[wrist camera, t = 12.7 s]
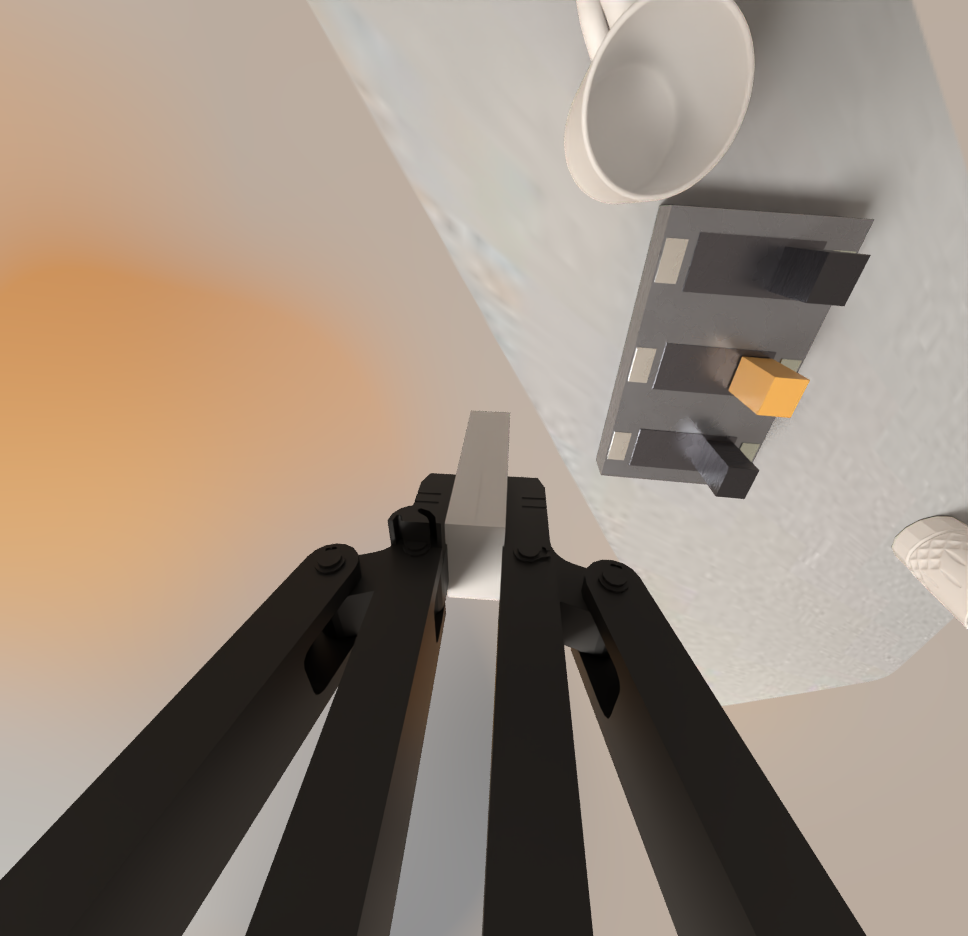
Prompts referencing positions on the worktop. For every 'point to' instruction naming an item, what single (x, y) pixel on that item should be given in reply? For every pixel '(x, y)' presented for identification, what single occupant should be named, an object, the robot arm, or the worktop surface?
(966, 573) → the white cup
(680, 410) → the panel
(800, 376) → the toggle
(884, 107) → the worktop surface
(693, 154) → the mug
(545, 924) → the robot arm
